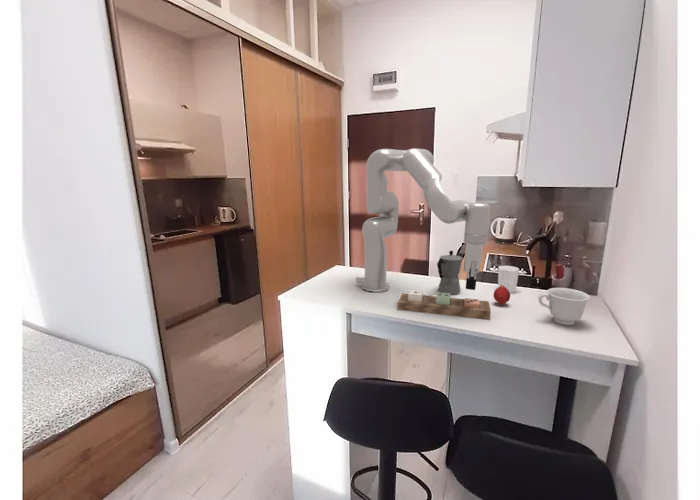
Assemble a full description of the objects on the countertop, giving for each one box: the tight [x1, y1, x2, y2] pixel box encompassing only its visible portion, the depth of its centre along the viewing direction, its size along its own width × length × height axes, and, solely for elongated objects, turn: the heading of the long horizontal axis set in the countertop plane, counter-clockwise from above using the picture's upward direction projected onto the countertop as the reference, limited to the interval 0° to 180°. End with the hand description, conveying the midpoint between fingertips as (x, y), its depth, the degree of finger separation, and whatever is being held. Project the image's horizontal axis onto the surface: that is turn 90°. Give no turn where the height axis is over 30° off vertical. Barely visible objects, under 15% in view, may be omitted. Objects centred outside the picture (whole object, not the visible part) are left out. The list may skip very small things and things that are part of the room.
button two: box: [435, 291, 452, 305], centre depth 122 cm, size 5×5×3 cm
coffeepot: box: [436, 250, 463, 296], centre depth 139 cm, size 15×9×18 cm, turn 129°
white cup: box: [497, 265, 520, 294], centre depth 141 cm, size 8×8×10 cm
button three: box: [463, 297, 480, 308], centre depth 119 cm, size 5×5×3 cm
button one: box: [407, 289, 424, 302], centre depth 125 cm, size 5×5×3 cm
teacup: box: [537, 287, 591, 326], centre depth 110 cm, size 12×15×10 cm
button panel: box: [397, 293, 492, 321], centre depth 123 cm, size 32×10×3 cm, turn 72°
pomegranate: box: [493, 285, 511, 306], centre depth 126 cm, size 6×6×8 cm
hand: (470, 288), depth 118 cm, fingers closed
